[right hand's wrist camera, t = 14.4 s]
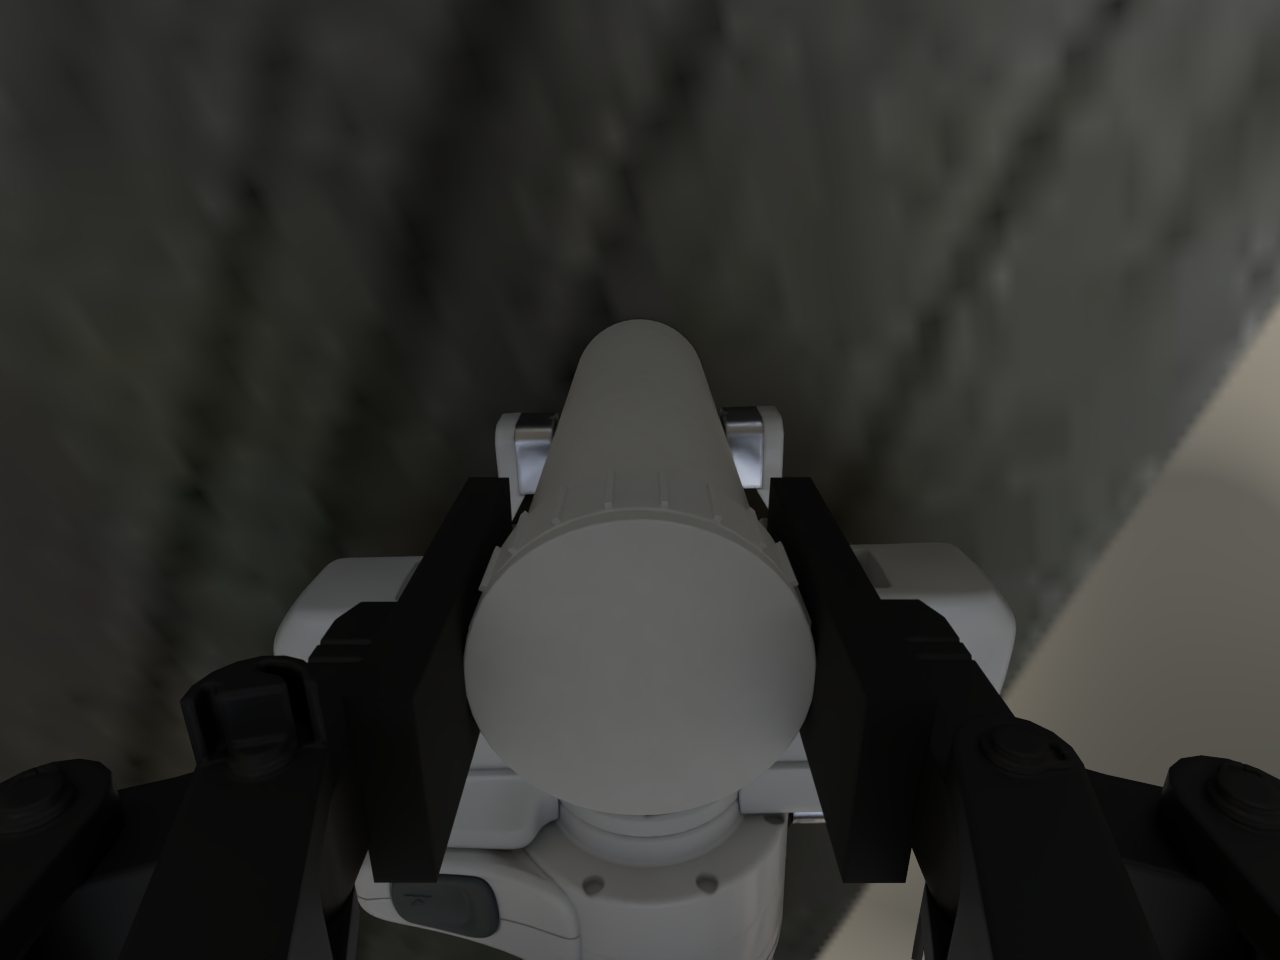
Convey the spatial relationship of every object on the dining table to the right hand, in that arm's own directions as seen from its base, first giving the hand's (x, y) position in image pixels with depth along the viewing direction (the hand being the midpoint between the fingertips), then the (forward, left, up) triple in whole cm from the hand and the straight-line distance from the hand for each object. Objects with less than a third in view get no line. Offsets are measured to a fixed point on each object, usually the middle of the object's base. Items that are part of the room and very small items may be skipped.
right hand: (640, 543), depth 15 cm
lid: (0, 0, +4) cm, 4 cm away
